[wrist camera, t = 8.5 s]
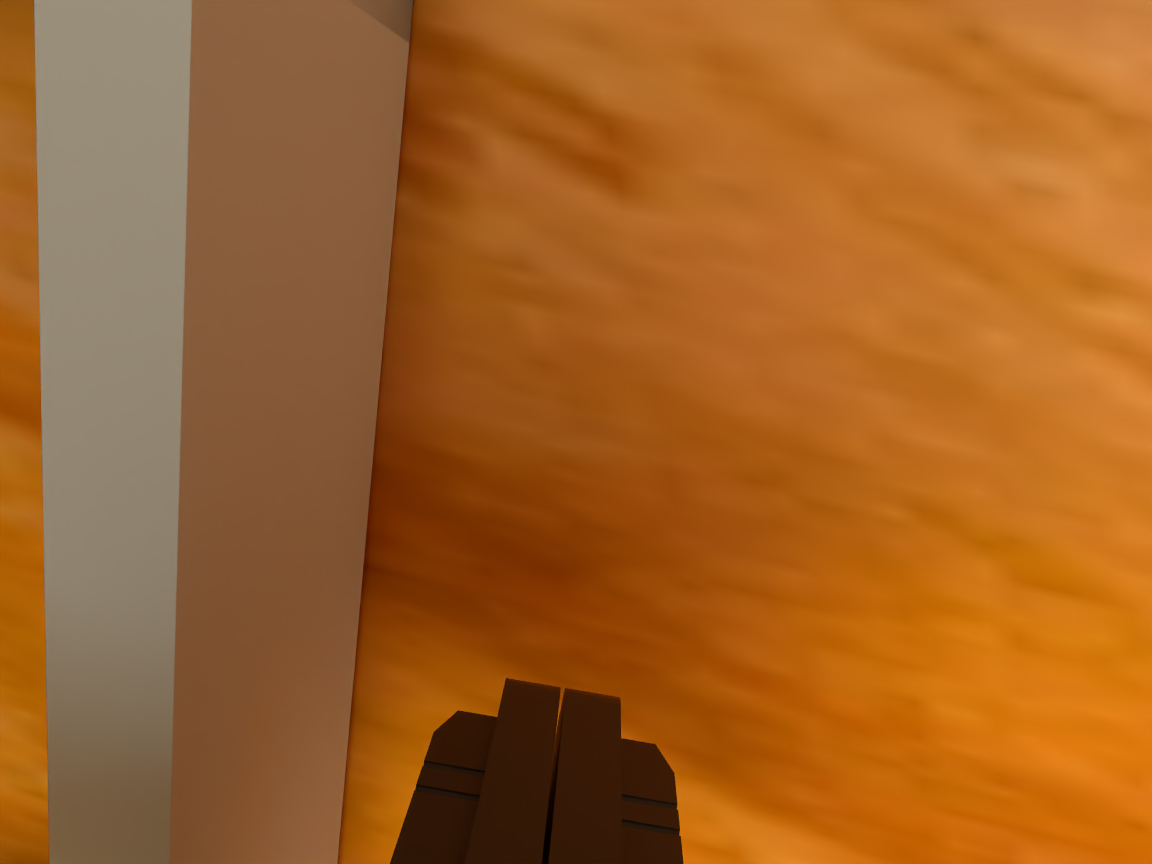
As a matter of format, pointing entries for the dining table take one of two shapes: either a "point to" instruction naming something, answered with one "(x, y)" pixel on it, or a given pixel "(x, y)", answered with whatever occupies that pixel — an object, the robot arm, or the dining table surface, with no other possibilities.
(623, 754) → the robot arm
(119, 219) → the gray u-shaped wall
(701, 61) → the dining table surface
